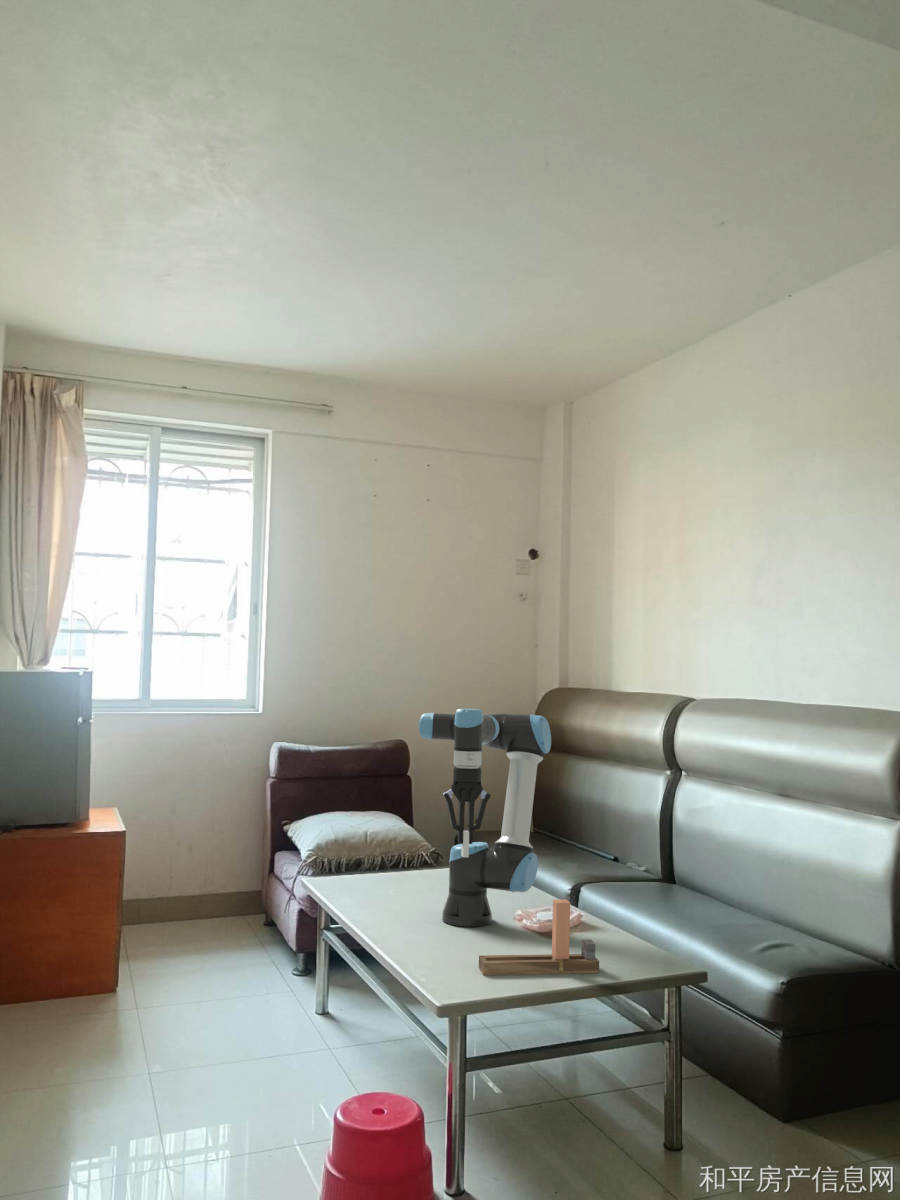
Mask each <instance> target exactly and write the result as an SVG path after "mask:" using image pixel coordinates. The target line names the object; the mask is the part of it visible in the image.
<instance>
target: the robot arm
mask: <svg viewBox="0 0 900 1200" xmlns="http://www.w3.org/2000/svg"><path fill="white" fill-rule="evenodd" d="M551 732H552V731H551V728H550V724H549V722H548V719H546V718H545V716H543V715H538V714H537V715H535V714H533V713H532V714H520V713H519V714H516V713H492V714H484V713H483V710H481V709H480V708H458V709H456V711H455V714H454V713H442V712H441V713H439V712H438V713H437V712H425V713H423V714H422V715H421V716H420V718H419V722H418V733H419V735H420V737H421V738H422V739H424V740H425V739H426V740H431V741H432V740H433V741H454V742H453V743H454V744H453V745H454V746H453V747H454V749H453V765H454V767H453V769H452V770H453V772H452V775H453V776H452V784H451V786H450V789H448V790H447V791H444V792H443V793H442V796H443V798H444V800H445V801H446V806H447V811H448V814H449V815H448V816H449V821H450V825H451V828H452V829H454V830H456V831H457V841H458V844H456V845H453V846H452V847H451V849H450V852H449V859H448V861H449V862H448V863H449V864H448V865H449V875H448V876H449V877H448V896H447V897H446V898H447V899H446V901H445V904H444V906H443V907H444V908H443V910H442V913H441V914H442V916H441V917H442V919H441V921H442V922H443V923H445V922H446V923H445V924H447V923H448V925H452V926H455V925H456V926H457V927H463V926H464V927H466V928H476V927H483V926H488V925H490V924H491V923H492V922H493V921H492V917H493V915H492V914H493V913H492V910H491V907H490V903H489V898H488V896H487V893H488V892H487V891H488V889H491V890H498V891H505V892H506V891H507V892H511V893H527V892H528V891H529V890H531V888H532V886H533V884H534V883H535V880H536V877H537V873H538V868H539V867H538V866H539V864H538V862H539V859H538V855H537V854H536V853H534V847H533V845H532V844H531V842H530V834H531V833H530V831H531V824H532V817H533V816H532V815H533V807H534V806H533V805H534V797H535V796H534V795H535V789H536V781H537V772H538V771H537V770H538V765H539V764H540V763H541V762H542V761H543V760H544V754H546V755H547V754H549V752H550V751H551V747H552V735H551V734H552V733H551ZM483 747H485V748H489V749H493V750H498V751H499V750H500V751H506V757H507V758H508V759H509V761H510V762H509V767H508V768H509V769H508V775H507V777H508V778H507V785H506V793H505V800H504V809H503V817H502V826H501V834H500V837H499V838H498V839H497V840H496V841H495V842H494V848H489V843H487V842H485V841H474V832H475V831H477V830H480V829H481V826H482V822H483V818H484V814H485V812H486V811H485V810H486V807H487V803H488V801H489V800H490V798H491V793H489V792H486V790H484V788H483V787H484V786H483V785H482V769H481V766H482V762H483V761H482V760H483V759H482V757H483V756H482V755H483V754H482V753H483ZM453 795H454V796H455V798H456V799H457V801H458V811H457V812H458V813H457V814H458V819H456V814H455V809H454V804H453V800H452V799H453ZM479 796H480V802H479V806H478V810H477V812H476V813H477V814H476V817H475V802H476V800H477V799H478V798H479ZM466 803H467V830H465V809H466V808H465V807H466V806H465V805H466ZM474 818H475V819H474ZM474 820H475V821H474ZM457 821H458V822H457ZM456 926H455V927H456Z"/></svg>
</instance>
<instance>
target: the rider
mask: <svg viewBox="0 0 900 1200" xmlns="http://www.w3.org/2000/svg"><path fill="white" fill-rule="evenodd" d="M551 923H552V924H551V925H552V926H551V927H552V928H551V931H552V932H551V937H552V938H551V954H552V956H553V957H552V960H557V959H569V954H570V946H571V945H570V940H571V938H570V936H571V902H570V901H569V900H568V899H566V898H565V899H559V898H558V899H552V922H551Z"/></svg>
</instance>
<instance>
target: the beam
mask: <svg viewBox="0 0 900 1200" xmlns="http://www.w3.org/2000/svg"><path fill="white" fill-rule="evenodd" d="M552 957H553V956H552V953H551V954H505V955H504V954H499V955H498V954H495V955H493V954H491V955H490V954H489V955H478V969H479V971H480V973H481V974H482V976H504V975H505V976H508V975H509V976H513V975H514V976H515V975H517V976H518V975H562V974H563V975H565V974H567V975H568V973H571V974H572V973H576V974H600V960H599V959H598V958H597V957H596V943H595V942H594V941H593V940H592V939H591V938H587V939H585V938H582V939H581V953H569V959H557V960H552Z"/></svg>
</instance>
